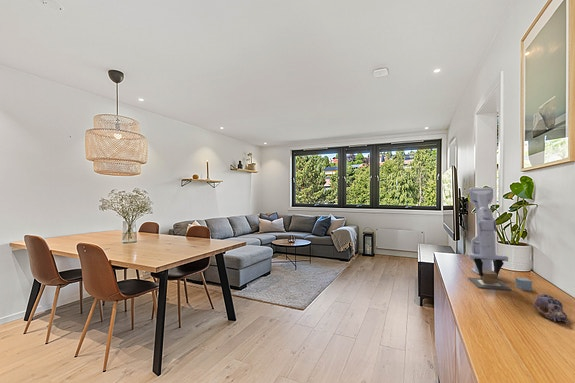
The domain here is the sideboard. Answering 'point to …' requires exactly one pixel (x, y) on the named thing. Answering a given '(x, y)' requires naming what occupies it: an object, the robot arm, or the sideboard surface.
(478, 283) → the mat
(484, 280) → the walnut block
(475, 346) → the sideboard surface
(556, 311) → the skull
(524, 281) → the blue block
